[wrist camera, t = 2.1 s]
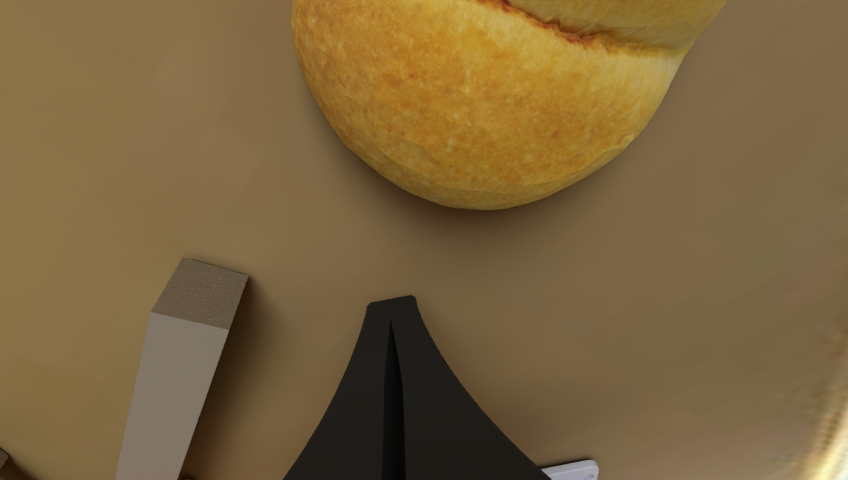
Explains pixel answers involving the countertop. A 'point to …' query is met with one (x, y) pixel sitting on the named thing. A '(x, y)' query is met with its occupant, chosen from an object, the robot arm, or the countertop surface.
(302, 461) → the robot arm
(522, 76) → the bread roll
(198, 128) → the countertop surface
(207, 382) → the bar
